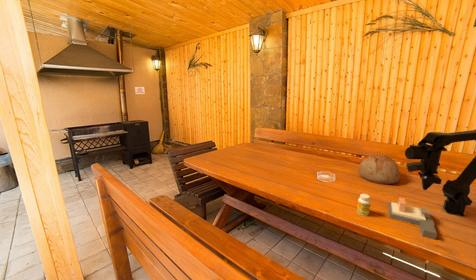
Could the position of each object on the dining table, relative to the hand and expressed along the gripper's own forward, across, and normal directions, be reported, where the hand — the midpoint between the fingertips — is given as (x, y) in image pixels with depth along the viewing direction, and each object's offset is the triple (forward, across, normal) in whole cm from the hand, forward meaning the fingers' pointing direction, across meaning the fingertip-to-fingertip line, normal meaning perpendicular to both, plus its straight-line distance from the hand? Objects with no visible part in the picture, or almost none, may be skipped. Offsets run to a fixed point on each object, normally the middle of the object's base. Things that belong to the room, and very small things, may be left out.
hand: (424, 189), depth 100 cm
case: (+12, +13, -5) cm, 18 cm away
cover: (+10, +8, -6) cm, 14 cm away
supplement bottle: (+12, +16, -24) cm, 32 cm away
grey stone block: (+9, +8, 0) cm, 12 cm away
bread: (+12, -36, -17) cm, 42 cm away
